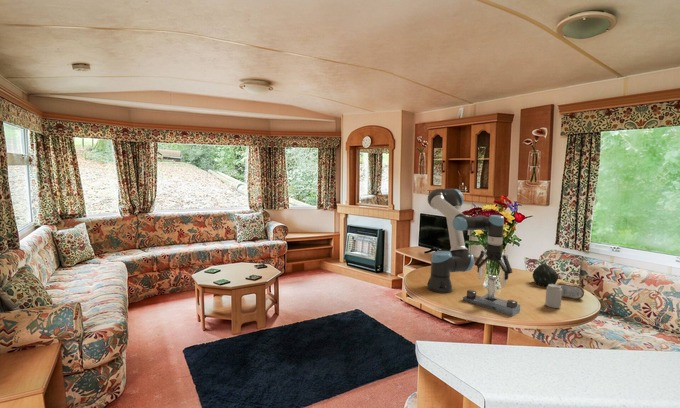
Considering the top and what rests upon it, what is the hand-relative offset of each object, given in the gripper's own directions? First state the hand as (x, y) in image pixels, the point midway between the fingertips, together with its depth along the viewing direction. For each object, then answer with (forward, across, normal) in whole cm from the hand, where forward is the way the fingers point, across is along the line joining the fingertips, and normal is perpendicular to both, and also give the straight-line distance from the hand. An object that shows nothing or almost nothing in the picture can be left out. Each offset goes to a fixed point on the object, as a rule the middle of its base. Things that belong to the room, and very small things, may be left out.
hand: (491, 281), depth 202 cm
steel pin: (+14, 0, 0) cm, 14 cm away
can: (+14, +22, +28) cm, 38 cm away
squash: (+14, +4, +66) cm, 68 cm away
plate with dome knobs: (+14, 0, 0) cm, 14 cm away
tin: (+14, +23, +51) cm, 58 cm away
